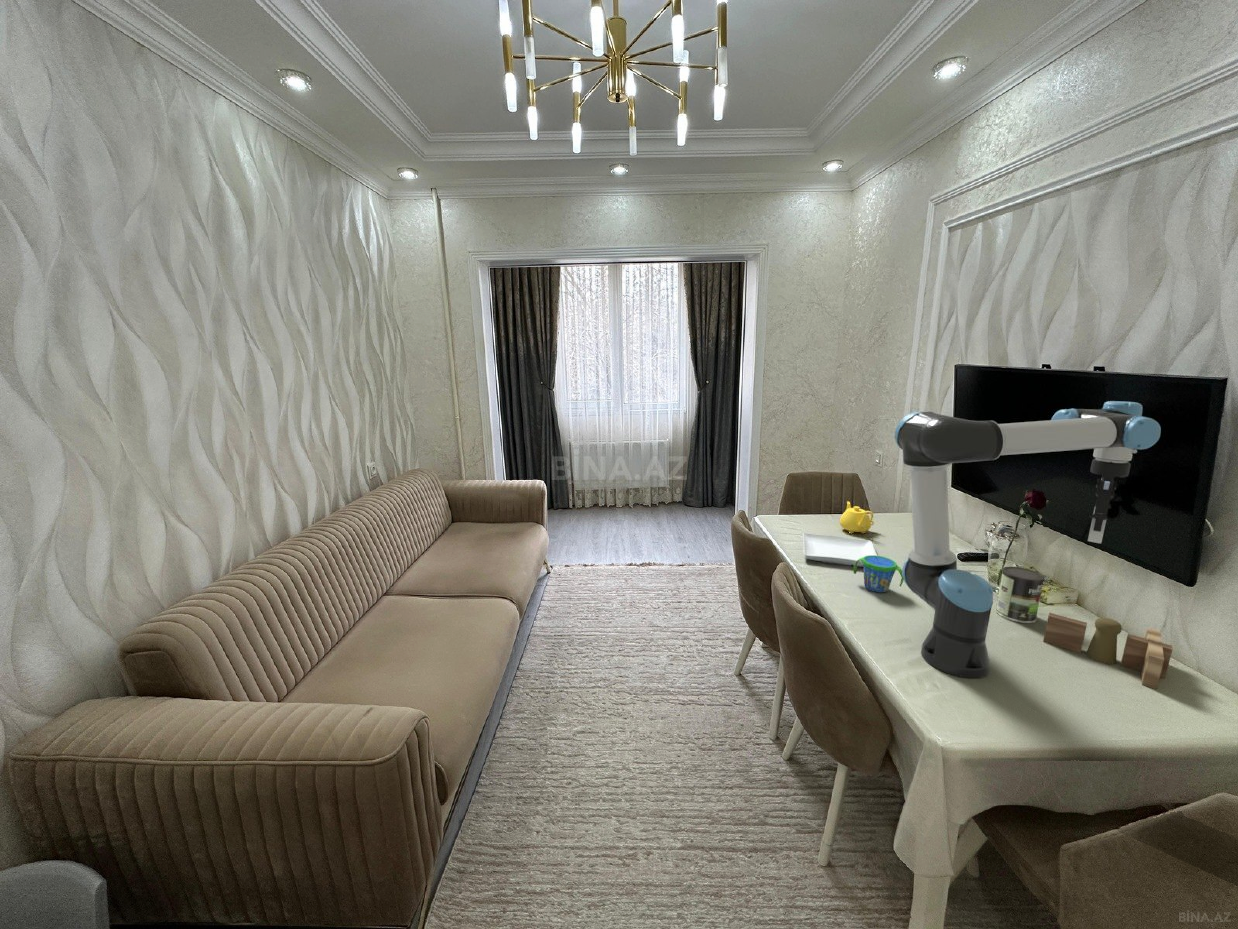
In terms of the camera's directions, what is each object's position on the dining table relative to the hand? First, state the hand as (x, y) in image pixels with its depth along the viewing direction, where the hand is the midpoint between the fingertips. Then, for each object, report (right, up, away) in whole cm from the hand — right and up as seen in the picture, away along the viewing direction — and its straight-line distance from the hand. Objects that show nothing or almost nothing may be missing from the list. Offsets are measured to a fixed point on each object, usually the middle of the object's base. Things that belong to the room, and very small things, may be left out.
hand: (1095, 535), depth 142 cm
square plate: (-43, -17, +67) cm, 81 cm away
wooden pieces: (-1, -32, -3) cm, 32 cm away
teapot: (-23, -11, +94) cm, 97 cm away
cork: (-2, -32, -3) cm, 33 cm away
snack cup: (-42, -23, +36) cm, 60 cm away
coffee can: (-8, -27, +19) cm, 34 cm away
